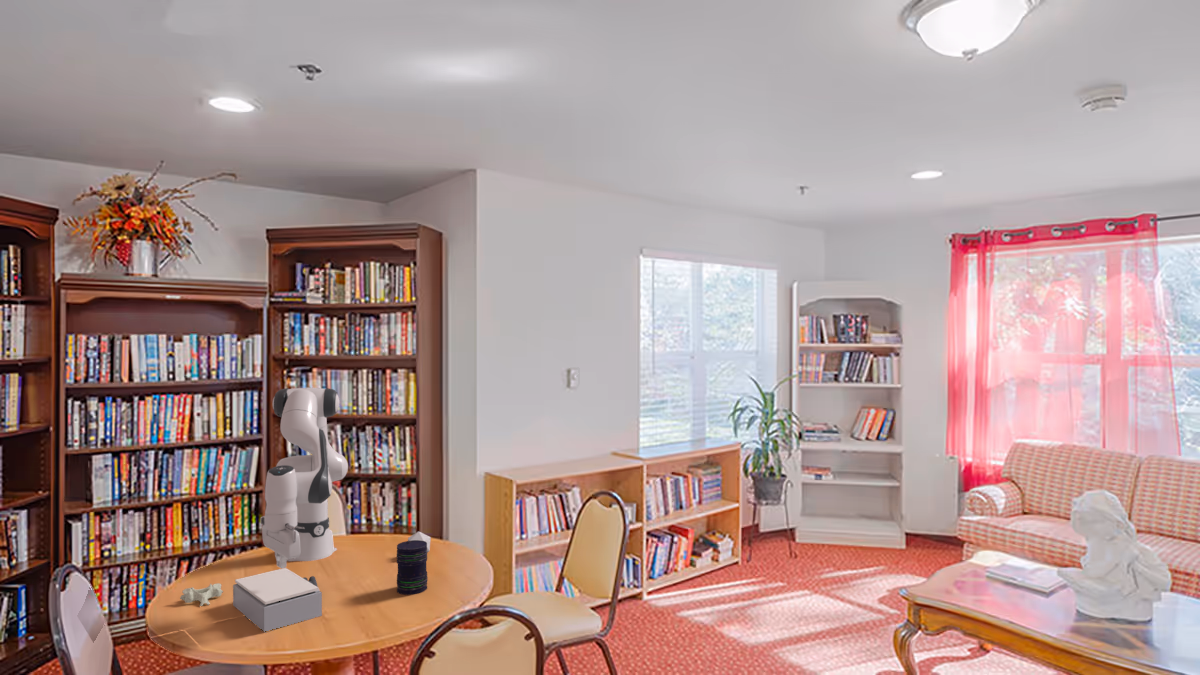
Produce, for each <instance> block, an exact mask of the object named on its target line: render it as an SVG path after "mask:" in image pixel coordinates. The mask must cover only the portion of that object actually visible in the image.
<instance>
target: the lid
mask: <svg viewBox="0 0 1200 675" xmlns="http://www.w3.org/2000/svg"><path fill="white" fill-rule="evenodd" d="M303 578H304V577H301V576H300V575H298V574H296V573H295V572H294V571H292V570H290V569H288V568H287V567H285V568H279V569H275V570H271V571H266V572H262V573H258V574H254V575H250V576H245V577H242V578H241V577H240V578H236V579H234V581H235V584H238V585H239V586H241V587H242V588H244V589H245V590H246V591H248V592H249V593H250V594H252V595H253V596H254V597H256V598H257V599H258V600H260V601H261V602H262V603H264V604H265V605H271V604H275V603H278V602H279V601H280V602H282V601H286V600H290V599H291V598H292V597H296V596H300V595H303V594H307V593H311V592H314V591H318V590H319V591H320V588H319V586H318V585H317V586H318V587H317V586H315V585H313V584H312V583H310V582H308V581H307V580H305V579H303Z"/></svg>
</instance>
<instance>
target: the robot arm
mask: <svg viewBox="0 0 1200 675" xmlns="http://www.w3.org/2000/svg"><path fill="white" fill-rule="evenodd" d="M340 402H341V401H340V397H339V394H338V392H337V391H336V390H335V389H333V388H328V387H326V388H320V387H296V388H289V387H287V388H281V389H278V391H276V392H275V394H274V397H273V399H272V409H273V411H274V412H273V413H274V414H275V415H276V416H277V417H279V418H281V419H280V427H279V428H280V433H281V435H282V437H283V438H284V439H285V440H286V441H287V442H289V443H290V444H292V445H294V446H298V448H300V450H303V451H305V452H307V453H309V454H306V455H292V456H289V457H284V458H281V459H280V460H279V461H278V462H277V463H276V466H273V467H271V468H269V469H268V471H267V472H266V477H265V478H266V480H265V485H264V486H265V487H264V500H265V502H266V507H265V511H264V515H263V516H261V517H260V524H261V525H262V526H261V531H262V532H261V534H262V542H263V546H264V547H266V548H268V549H269V550H271V551H273V552H274V556H275V557H274V558H275V560H276V567H278V568H279V569H282V568H287V562H312V561H317V560H321V559H322V560H323V559H326V558H327V557H328V558H329V557H330V556H332V554H333V553H334V552H335V551H338V548H337V547H335V546H334V536H333V530H331V529H330V517H329V512H328V511H329V510H328V509H329V503H328V502H329V500H328V499H329V498H330V497H331V495H332V491H333V482H337V481H340V480H343V479H344V478H345V477H346V475H347V473H348V470H349V463H348V460H347V458H346V456H344V455H343V454H341V453H339V452H337V451H336V450H335V449H334V448H333V447H332V446H331V444H330V441H329V436H328V427H327V426H328V424H327V423H328V422H327V419H328V418H330V417H333V416H335V415H336V414H337V412H338V410H339V407H340Z"/></svg>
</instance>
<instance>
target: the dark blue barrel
mask: <svg viewBox="0 0 1200 675" xmlns="http://www.w3.org/2000/svg"><path fill="white" fill-rule="evenodd" d="M427 561H428V552H427V542H425V541H420V540H412V541H408V540H406V541H402V542H400V543H398V544H396V563H397V575H396V588H397V589H396V592H397V593H398V594H399V595H402V596H403V595H405V596H410V595H411V596H413V595H419V594H421V593H424V592H425V591H427V589H428V571H427Z"/></svg>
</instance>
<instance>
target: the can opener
mask: <svg viewBox="0 0 1200 675" xmlns="http://www.w3.org/2000/svg"><path fill="white" fill-rule="evenodd" d="M302 578H303V579H305V580H307V581H308V582H310V583H312V584H313V585H315V586H317V587H318V588H319V586H318V582H317V579H316V576H313V575H312V576H309V577H308V578H309V579H308V578H307V577H302Z"/></svg>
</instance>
